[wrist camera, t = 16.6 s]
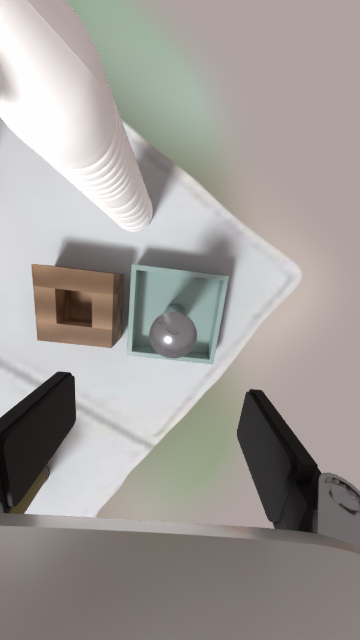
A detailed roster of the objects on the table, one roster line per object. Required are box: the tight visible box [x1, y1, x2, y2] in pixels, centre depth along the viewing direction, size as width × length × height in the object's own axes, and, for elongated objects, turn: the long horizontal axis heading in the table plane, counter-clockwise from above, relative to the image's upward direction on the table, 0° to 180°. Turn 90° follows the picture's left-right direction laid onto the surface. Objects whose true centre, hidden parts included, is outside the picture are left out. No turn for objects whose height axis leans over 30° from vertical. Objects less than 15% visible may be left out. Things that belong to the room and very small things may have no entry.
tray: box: [127, 264, 229, 364], centre depth 31 cm, size 16×16×4 cm
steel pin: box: [149, 304, 197, 359], centre depth 26 cm, size 6×6×12 cm
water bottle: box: [0, 0, 153, 232], centre depth 17 cm, size 9×6×25 cm
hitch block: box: [32, 264, 124, 348], centre depth 30 cm, size 12×12×5 cm
